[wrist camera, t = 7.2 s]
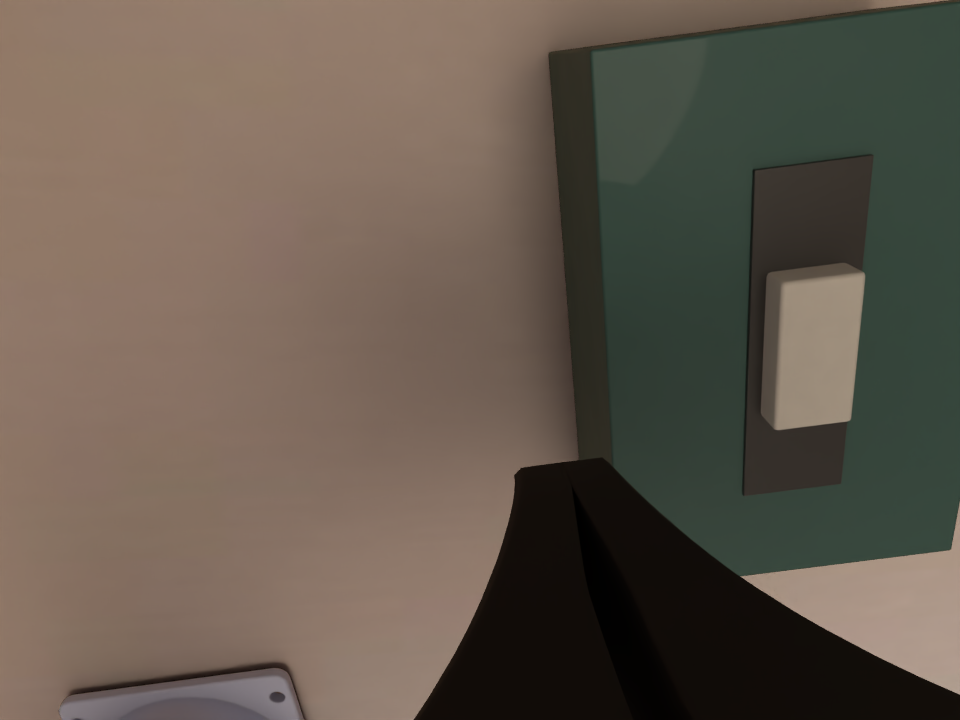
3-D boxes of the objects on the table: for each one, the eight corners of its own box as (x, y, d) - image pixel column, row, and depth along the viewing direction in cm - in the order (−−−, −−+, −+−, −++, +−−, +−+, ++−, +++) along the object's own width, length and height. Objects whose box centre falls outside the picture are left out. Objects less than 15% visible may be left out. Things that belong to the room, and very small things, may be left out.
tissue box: (579, 469, 22) (838, 436, 22) (626, 616, 16) (979, 573, 16) (548, 52, 17) (879, 8, 17) (598, 49, 11) (1100, -18, 11)
